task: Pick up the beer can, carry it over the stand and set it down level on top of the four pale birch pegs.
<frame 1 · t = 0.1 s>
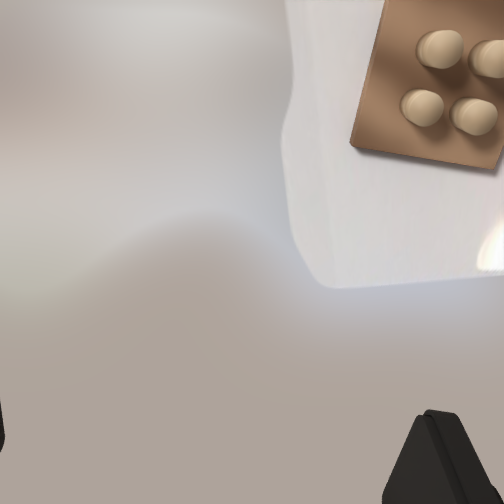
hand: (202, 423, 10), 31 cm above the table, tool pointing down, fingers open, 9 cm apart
peg stand: (441, 79, 35), on the table
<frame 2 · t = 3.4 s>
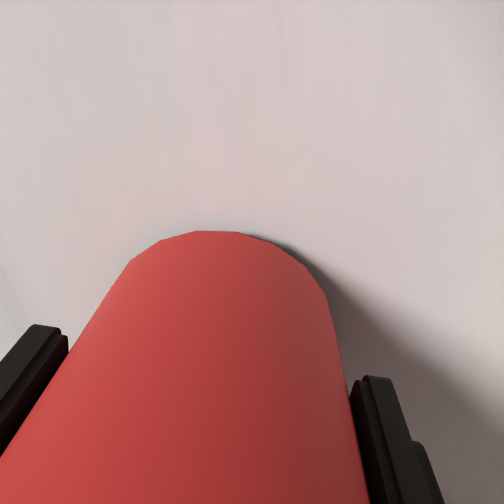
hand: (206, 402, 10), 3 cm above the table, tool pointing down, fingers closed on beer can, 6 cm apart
beer can: (222, 318, 13), on the table, touching gripper
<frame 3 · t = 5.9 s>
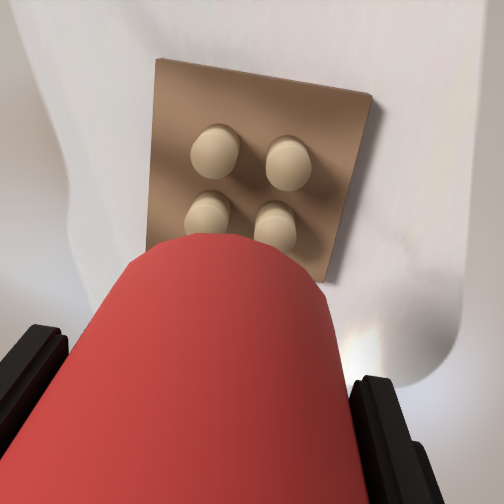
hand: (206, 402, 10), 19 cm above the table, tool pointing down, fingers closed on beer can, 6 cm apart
peg stand: (249, 175, 28), on the table
beer can: (221, 320, 13), point 16 cm above the table, touching gripper
when the fingers open (9 cm above the table, at t = 8.4 s): beer can stays where it is, resting on peg stand.
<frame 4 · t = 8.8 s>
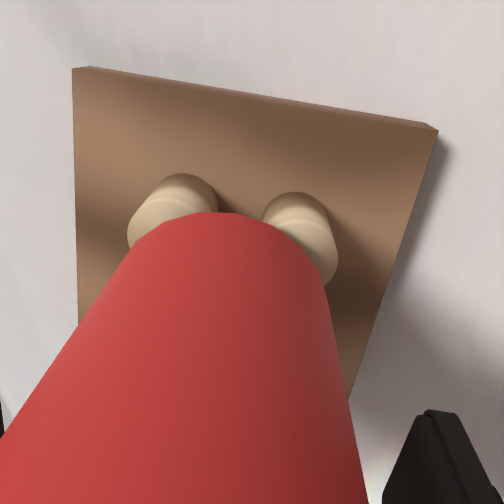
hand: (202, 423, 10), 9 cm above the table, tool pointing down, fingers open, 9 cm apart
peg stand: (235, 246, 18), on the table
beer can: (222, 297, 14), point 4 cm above the table, touching peg stand
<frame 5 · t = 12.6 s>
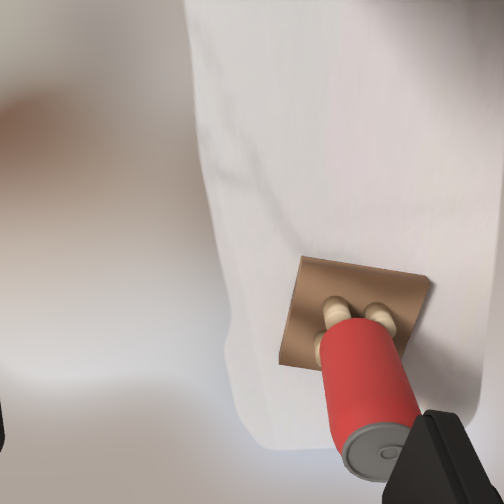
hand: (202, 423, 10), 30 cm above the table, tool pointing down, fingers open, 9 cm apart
peg stand: (347, 317, 44), on the table
beer can: (354, 342, 40), point 4 cm above the table, touching peg stand
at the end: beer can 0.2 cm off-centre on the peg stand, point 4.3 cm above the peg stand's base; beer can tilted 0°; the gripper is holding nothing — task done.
